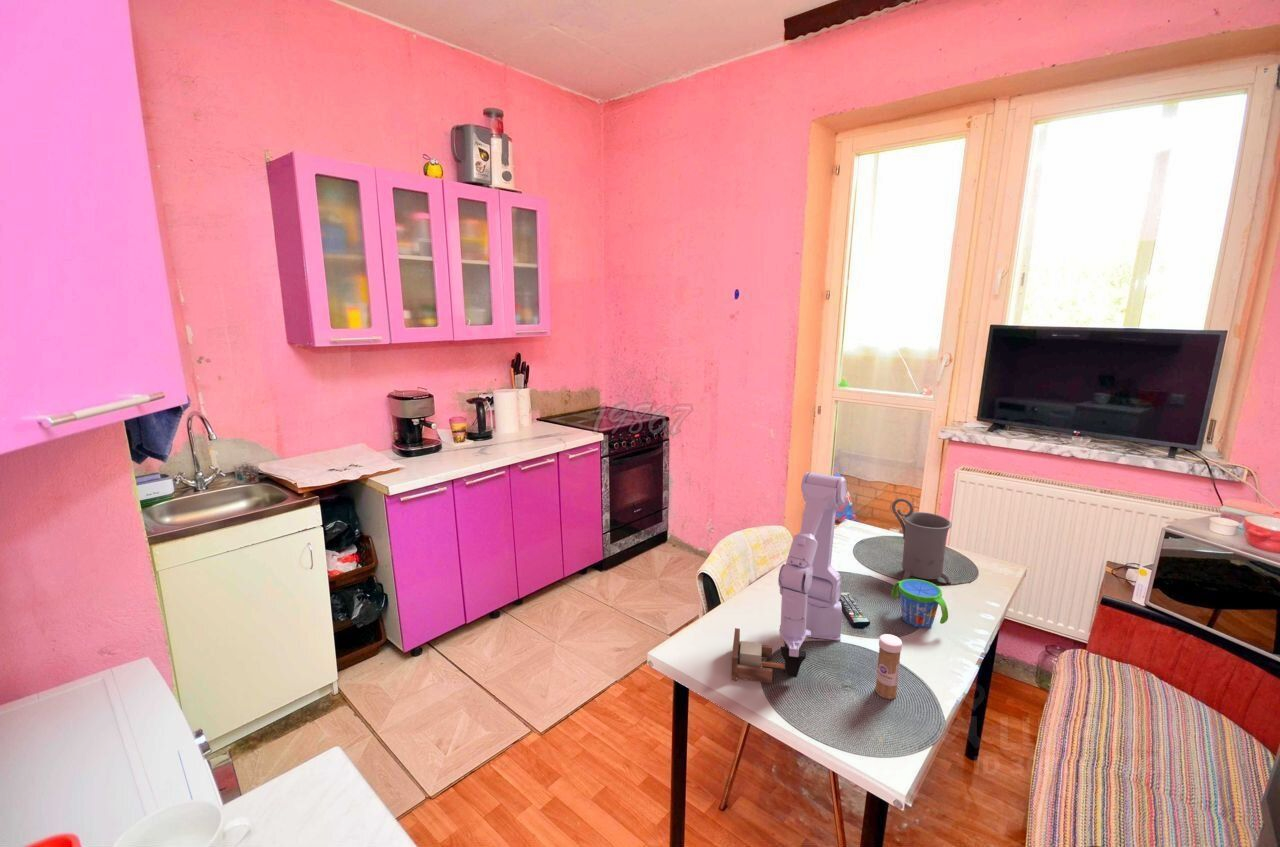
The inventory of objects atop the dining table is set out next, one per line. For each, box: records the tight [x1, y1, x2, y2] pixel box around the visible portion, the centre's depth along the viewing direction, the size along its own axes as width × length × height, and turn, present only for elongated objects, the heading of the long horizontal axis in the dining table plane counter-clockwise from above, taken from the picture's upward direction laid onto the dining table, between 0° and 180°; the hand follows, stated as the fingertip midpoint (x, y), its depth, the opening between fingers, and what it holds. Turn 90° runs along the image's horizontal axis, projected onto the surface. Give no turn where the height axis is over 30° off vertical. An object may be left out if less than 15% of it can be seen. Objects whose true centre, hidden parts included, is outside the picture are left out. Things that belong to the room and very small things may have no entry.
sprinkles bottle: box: [874, 633, 903, 700], centre depth 119 cm, size 5×5×14 cm
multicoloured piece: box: [739, 640, 788, 675], centre depth 129 cm, size 14×5×6 cm, turn 77°
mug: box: [891, 498, 953, 585], centre depth 170 cm, size 19×15×25 cm
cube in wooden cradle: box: [730, 627, 773, 684], centre depth 130 cm, size 9×12×6 cm
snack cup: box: [891, 578, 949, 628], centre depth 147 cm, size 16×10×10 cm
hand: (791, 665), depth 128 cm, fingers open, 7 cm apart
